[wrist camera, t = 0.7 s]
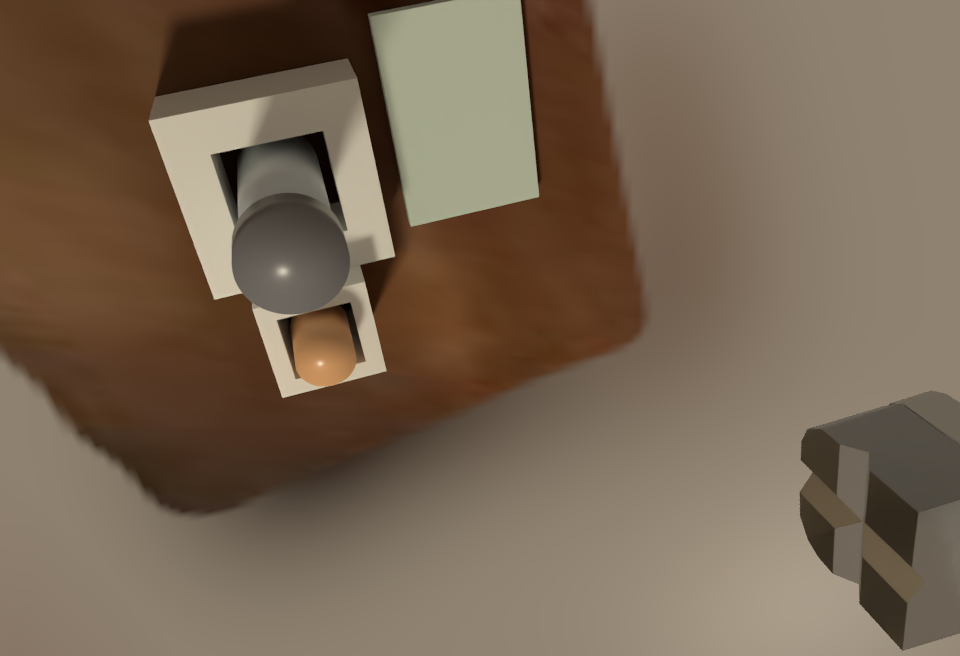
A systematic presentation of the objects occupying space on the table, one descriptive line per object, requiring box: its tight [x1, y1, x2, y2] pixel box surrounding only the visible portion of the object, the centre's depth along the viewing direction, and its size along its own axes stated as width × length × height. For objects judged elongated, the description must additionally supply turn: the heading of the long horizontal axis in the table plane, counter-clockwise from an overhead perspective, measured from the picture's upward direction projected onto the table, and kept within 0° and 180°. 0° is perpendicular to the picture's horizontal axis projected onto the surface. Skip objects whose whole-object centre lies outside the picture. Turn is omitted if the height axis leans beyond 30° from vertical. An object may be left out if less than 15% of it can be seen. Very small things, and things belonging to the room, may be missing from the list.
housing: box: [149, 58, 395, 398], centre depth 44 cm, size 16×10×6 cm, turn 8°
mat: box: [368, 0, 539, 227], centre depth 45 cm, size 12×8×1 cm, turn 8°
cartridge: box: [232, 136, 350, 315], centre depth 40 cm, size 5×5×12 cm
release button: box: [290, 305, 357, 386], centre depth 44 cm, size 3×3×4 cm
